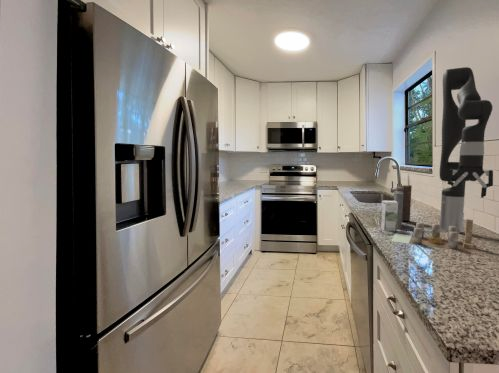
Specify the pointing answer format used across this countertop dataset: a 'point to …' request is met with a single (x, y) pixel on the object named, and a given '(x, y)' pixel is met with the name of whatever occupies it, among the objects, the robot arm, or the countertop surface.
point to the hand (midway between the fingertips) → (468, 196)
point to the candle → (406, 202)
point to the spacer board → (444, 244)
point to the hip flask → (399, 205)
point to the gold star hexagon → (435, 239)
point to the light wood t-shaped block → (468, 234)
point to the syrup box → (389, 215)
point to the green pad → (401, 238)
